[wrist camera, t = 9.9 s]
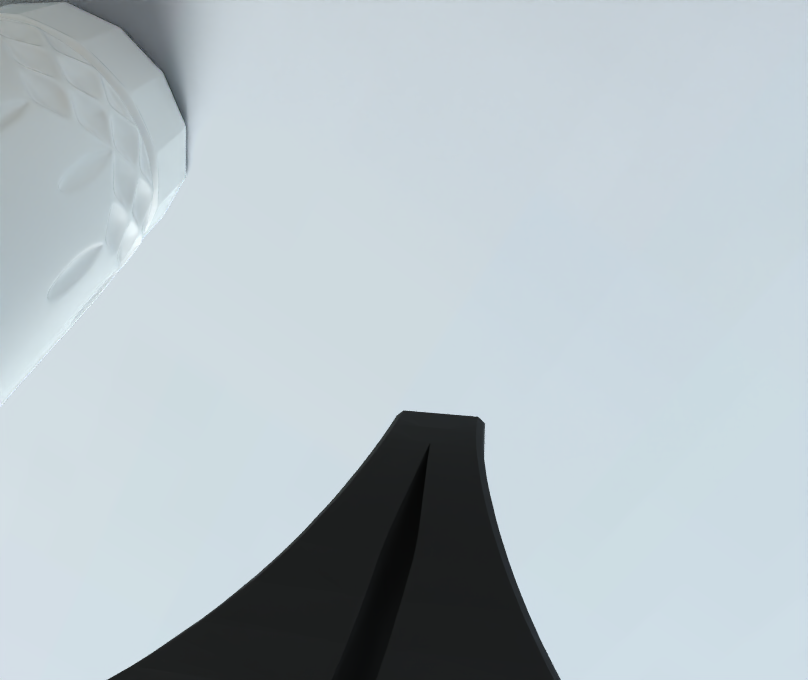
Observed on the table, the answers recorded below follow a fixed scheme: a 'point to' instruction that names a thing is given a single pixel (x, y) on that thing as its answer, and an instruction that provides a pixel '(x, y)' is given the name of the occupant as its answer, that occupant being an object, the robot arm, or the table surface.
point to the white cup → (74, 170)
